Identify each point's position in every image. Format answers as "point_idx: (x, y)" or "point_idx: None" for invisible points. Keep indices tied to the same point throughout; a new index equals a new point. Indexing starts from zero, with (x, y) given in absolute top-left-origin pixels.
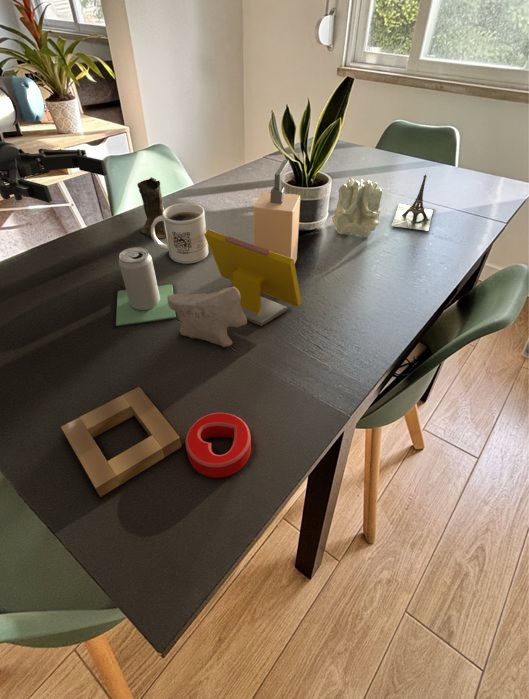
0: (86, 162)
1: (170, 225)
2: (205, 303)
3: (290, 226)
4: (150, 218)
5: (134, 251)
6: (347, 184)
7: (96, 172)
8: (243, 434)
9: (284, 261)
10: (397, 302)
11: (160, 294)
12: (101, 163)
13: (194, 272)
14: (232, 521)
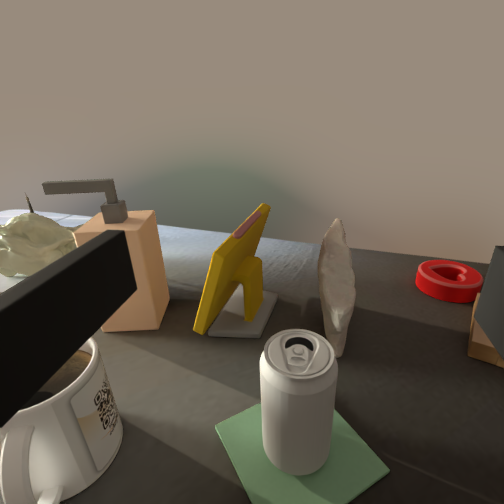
0: (56, 304)
1: (87, 388)
2: (350, 257)
3: (157, 230)
4: None
5: (284, 357)
6: (7, 230)
7: (109, 308)
8: (431, 262)
9: (266, 207)
10: (204, 242)
11: (256, 430)
12: (123, 239)
13: (159, 407)
14: (483, 270)
